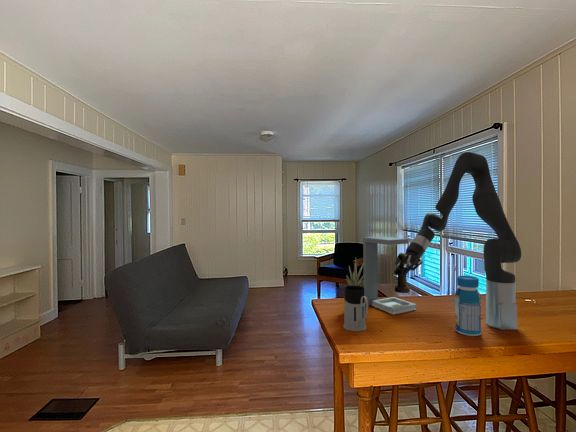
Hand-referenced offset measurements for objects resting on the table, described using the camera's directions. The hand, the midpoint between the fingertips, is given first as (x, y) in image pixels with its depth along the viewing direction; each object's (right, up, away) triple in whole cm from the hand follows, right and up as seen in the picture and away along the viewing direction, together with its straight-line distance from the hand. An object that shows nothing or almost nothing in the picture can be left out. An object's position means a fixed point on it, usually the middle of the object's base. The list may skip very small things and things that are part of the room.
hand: (398, 274), depth 142 cm
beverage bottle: (+14, -15, -30) cm, 37 cm away
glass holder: (-25, -16, -26) cm, 39 cm away
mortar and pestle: (+2, -8, +1) cm, 8 cm away
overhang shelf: (-4, -15, 0) cm, 16 cm away
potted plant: (-22, -15, -8) cm, 28 cm away
